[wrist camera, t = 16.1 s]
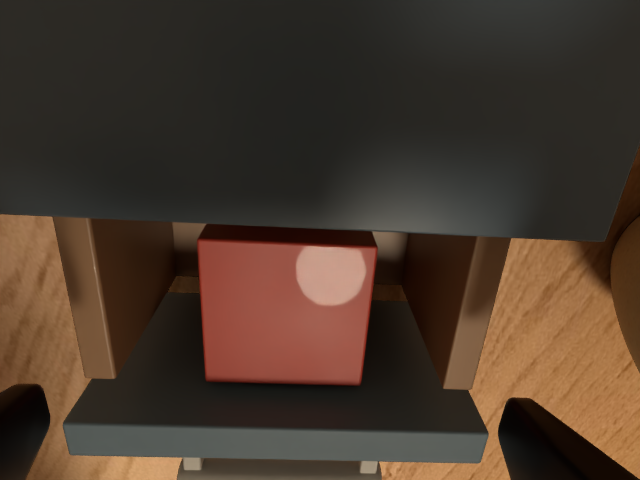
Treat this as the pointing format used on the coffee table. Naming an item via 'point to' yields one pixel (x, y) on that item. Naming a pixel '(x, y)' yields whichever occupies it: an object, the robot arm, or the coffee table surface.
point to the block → (285, 303)
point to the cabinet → (323, 113)
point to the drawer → (274, 399)
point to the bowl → (628, 287)
